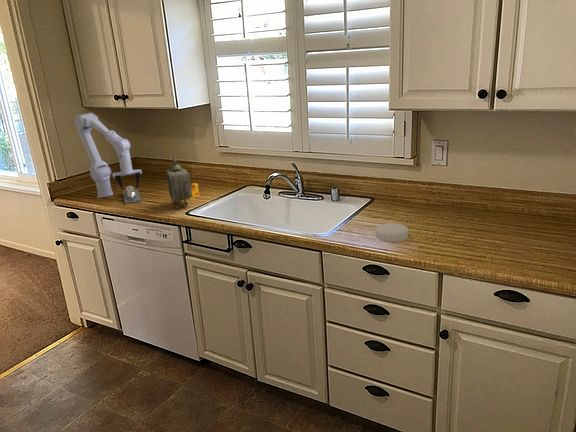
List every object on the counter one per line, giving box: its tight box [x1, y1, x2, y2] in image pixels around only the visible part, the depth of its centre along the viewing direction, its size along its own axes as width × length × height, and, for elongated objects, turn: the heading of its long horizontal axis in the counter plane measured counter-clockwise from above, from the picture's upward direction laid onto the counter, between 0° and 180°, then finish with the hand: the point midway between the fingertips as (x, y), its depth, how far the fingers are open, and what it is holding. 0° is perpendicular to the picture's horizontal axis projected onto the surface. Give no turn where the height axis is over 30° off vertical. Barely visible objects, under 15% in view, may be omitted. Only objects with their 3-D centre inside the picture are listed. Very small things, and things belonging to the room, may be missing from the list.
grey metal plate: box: [122, 185, 142, 205], centre depth 250 cm, size 23×8×4 cm, turn 21°
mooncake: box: [375, 222, 409, 243], centre depth 177 cm, size 12×12×4 cm
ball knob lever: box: [125, 185, 136, 199], centre depth 250 cm, size 15×4×3 cm, turn 21°
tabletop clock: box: [165, 154, 192, 210], centre depth 227 cm, size 14×9×25 cm, turn 22°
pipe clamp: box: [180, 182, 200, 203], centre depth 241 cm, size 12×4×6 cm, turn 143°
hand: (130, 188), depth 249 cm, fingers open, 7 cm apart
